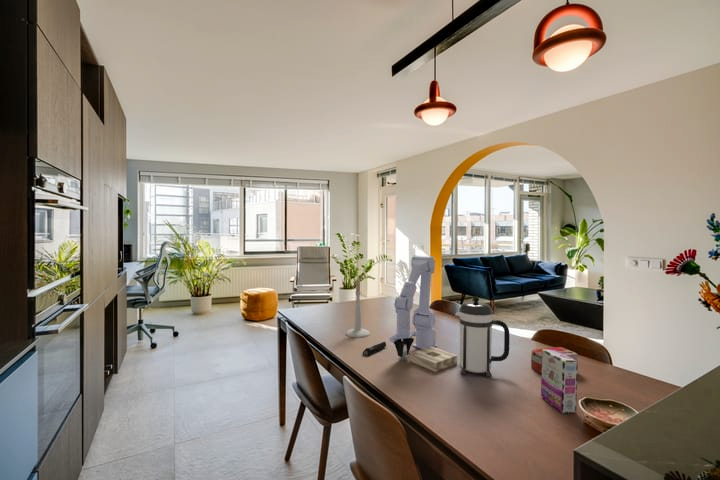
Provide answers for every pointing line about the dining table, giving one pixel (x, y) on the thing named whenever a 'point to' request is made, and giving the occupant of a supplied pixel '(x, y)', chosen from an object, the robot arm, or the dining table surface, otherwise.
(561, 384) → the candy bar box
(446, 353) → the socket block
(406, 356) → the peg
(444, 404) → the dining table surface
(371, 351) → the electric trimmer
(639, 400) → the dining table surface
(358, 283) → the candlestick
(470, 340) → the coffee press
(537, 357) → the medicine box
